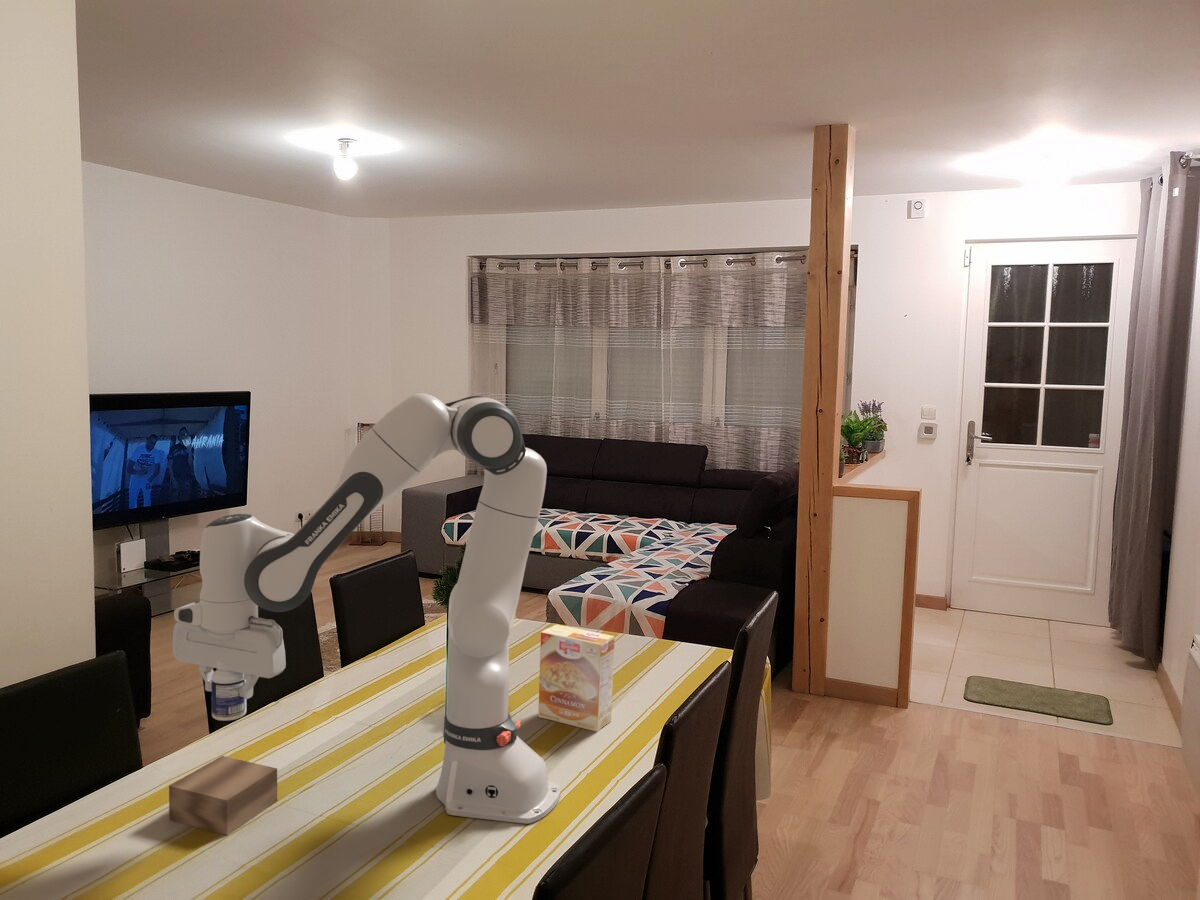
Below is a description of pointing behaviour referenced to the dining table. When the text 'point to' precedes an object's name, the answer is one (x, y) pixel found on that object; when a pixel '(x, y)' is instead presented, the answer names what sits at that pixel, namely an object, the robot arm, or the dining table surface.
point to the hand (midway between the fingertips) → (229, 693)
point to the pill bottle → (227, 694)
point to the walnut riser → (223, 795)
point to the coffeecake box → (576, 677)
